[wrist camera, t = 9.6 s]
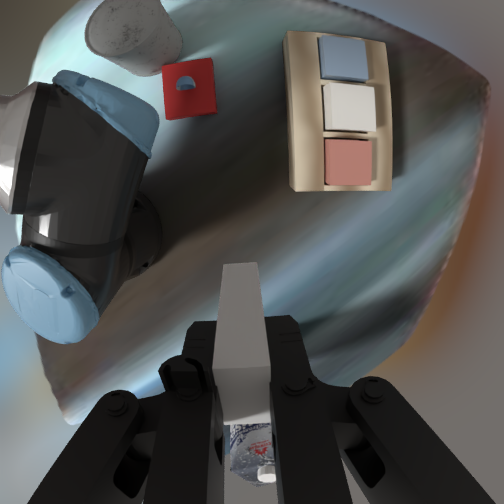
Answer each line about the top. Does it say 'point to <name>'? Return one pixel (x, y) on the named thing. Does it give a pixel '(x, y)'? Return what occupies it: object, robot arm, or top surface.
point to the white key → (349, 107)
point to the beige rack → (313, 114)
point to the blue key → (342, 59)
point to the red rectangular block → (189, 89)
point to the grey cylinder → (134, 35)
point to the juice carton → (252, 453)
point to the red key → (347, 162)
